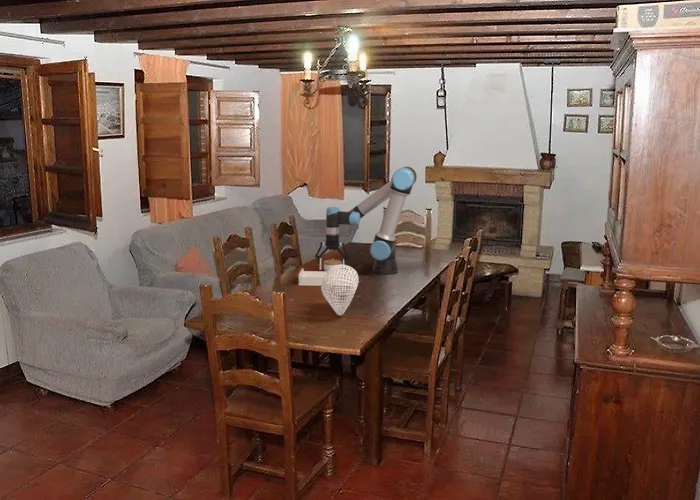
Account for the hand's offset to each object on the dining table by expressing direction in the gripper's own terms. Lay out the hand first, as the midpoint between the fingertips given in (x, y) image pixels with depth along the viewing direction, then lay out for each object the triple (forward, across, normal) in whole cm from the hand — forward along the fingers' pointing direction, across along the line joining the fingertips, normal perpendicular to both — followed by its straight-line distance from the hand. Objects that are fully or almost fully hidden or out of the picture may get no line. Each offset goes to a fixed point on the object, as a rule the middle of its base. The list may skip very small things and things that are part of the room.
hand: (332, 269), depth 382 cm
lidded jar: (+3, 0, 0) cm, 3 cm away
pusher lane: (+3, +1, +20) cm, 20 cm away
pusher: (+1, -10, +20) cm, 22 cm away
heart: (+2, -10, +82) cm, 83 cm away
